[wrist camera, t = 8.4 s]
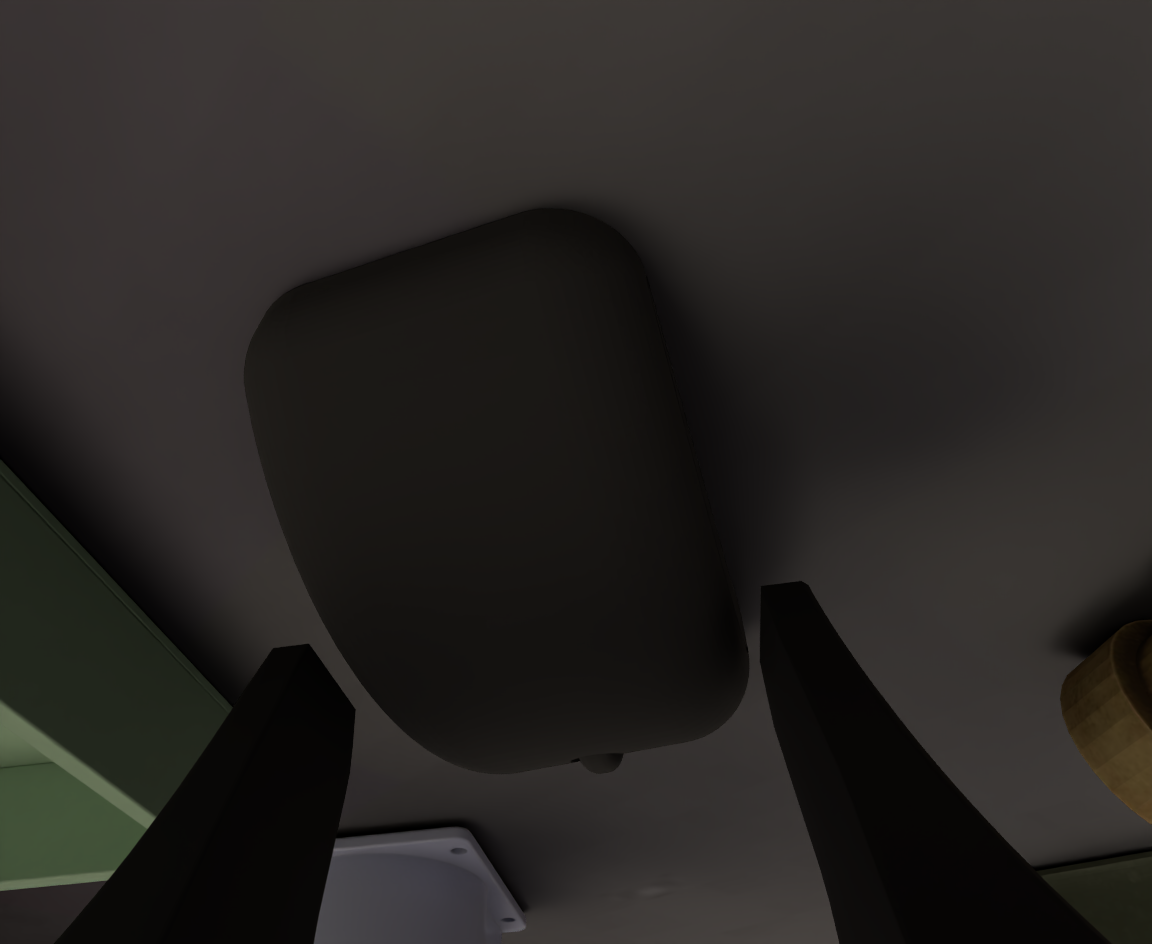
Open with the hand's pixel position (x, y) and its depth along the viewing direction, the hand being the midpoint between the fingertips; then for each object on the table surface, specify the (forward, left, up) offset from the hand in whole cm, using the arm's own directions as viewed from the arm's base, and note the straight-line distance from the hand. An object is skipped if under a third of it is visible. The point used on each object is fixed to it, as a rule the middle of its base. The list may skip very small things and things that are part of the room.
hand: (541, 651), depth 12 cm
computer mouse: (0, 0, -3) cm, 3 cm away
